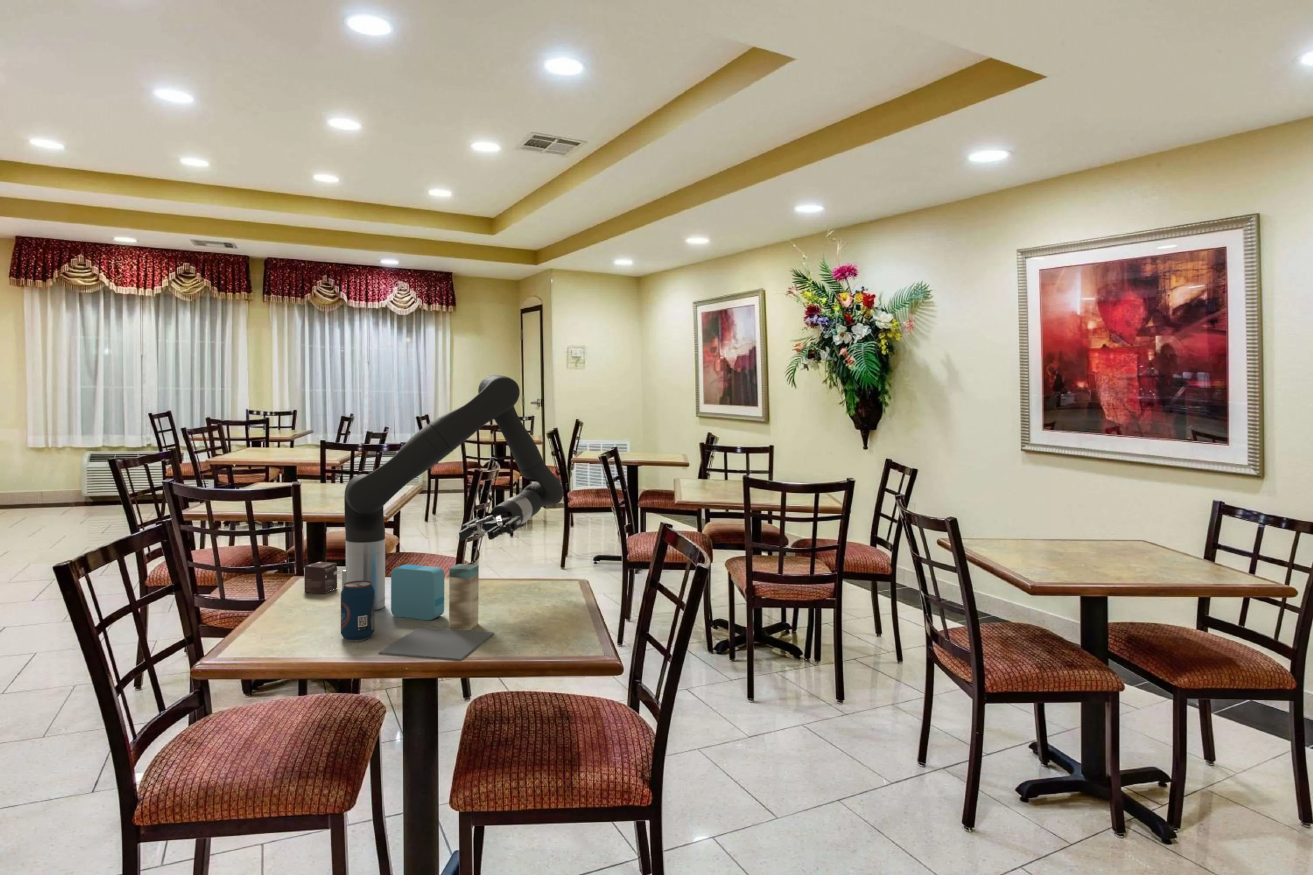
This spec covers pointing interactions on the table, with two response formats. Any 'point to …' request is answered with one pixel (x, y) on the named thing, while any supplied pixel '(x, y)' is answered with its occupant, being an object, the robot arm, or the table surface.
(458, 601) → the birch block
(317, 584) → the box
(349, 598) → the soda can
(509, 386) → the robot arm
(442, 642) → the rubber mat
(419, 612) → the data package
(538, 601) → the table surface
